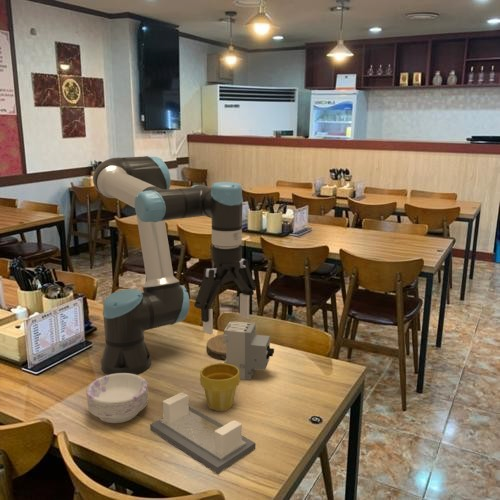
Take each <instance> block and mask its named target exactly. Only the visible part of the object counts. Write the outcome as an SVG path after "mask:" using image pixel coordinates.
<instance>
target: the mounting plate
mask: <svg viewBox="0 0 500 500" xmlns="http://www.w3.org/2000/svg"><path fill="white" fill-rule="evenodd" d="M189 411H191V412H193V413H194V414H196V415H198V416H200V417H202V418H203V419H205V420H207V421H209V422H210V423H212V424H214V425H216V426H218V427H219V428H221V427H222V426H224V425H225V424H222V423H220V422H218V421H216V420H214V419H213V418H211V417H209V416H208V415H207V414H206V415H205V414H204V413H202V412H201V411H199V410H197V409H195V408H194V407H192V406H189ZM161 419H163V417H162V418H159V419H158V420H156V421H153V422H152V423H150V424H149V430H150V431H151V432H153V433H155V434H156V435H158V436H159V437H161V438H162V439H164V440H165V441H167V442H169V443H170V444H172V445H173V446H175V447H176V448H178V449H179V450H180V451H182V452H184V453H186V454H187V455H189V456H190V457H192V458H193V459H195V460H196V461H197V462H199V463H201V464H202V465H204V466H206V467H207V468H208V469H210V470H211V471H213V472H215V473H216V474H220V473H221V472H222V471H223V470H225V469H227V468H229V467H230V466H231V465H233V464H234V463H236V462H238V461H239V460H240V459H242V458H244V457H245V456H247V455H248V454H249V453H251V452H253V451H255V450H256V442H254V441H253V440H251V439H249V438H247V437H246V436H243V435H242V441H244V442H246V445H245V446H244V447H242V448H241V449H239V450H238V451H236V452H235V453H233V454H232V455H230V456H228V457H227V458H225V459H224V460H222V461H220V460H219V459H217V458H215V457H214V456H212V455H210V454H209V453H207V452H206V451H204V450H202V449H201V448H199V447H198V446H196V445H194V444H193V443H191V442H190V441H188V440H186V439H185V438H183V437H182V436H180V435H178V434H177V433H175V432H174V431H172V430H170V429H169V428H167V427H165V426H164V425H162V424H161V423H159V420H161Z"/></svg>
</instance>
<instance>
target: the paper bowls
mask: <svg viewBox="0 0 500 500" xmlns="http://www.w3.org/2000/svg"><path fill="white" fill-rule="evenodd" d="M86 399H87V402H86V403H87V409H88V411H89V413H90V414H92V415H93V416H94V417H96V418H99V419H100V420H101V421H103V422H105V423H108V424H109V423H110V424H120V423H125V422H128V421H130V420H132V419H134V418H135V417H136V416H137V415H138V414H139V413H140V411H142V410H144V409H145V407H146V406H147V404H148V402H149V385H148V381H147V380H146V379H145V378H144V377H142V375H141V376H140V375H138V374H130V373H116V374H110V375H108V374H106V375H103V376H101V377H99V378H97V379H95V380H94V381H92V382H91V383H89V385H88V387H87V390H86Z"/></svg>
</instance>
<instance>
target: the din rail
mask: <svg viewBox="0 0 500 500" xmlns="http://www.w3.org/2000/svg"><path fill="white" fill-rule="evenodd" d="M162 418H163V417H162ZM162 418H160V419H161V420H160V419H158V420H159V423H161V424H162V425H164V426H165V427H167V428H169V429H170V430H172V431H174V432H175V433H177V434H178V435H180V436H182V437H183V438H185V439H186V440H188V441H190V442H191V443H193V444H194V445H196V446H198V447H199V448H201V449H202V450H204V451H206V452H207V453H209V454H210V455H212V456H214V457H215V458H217V459H219V460H220V461H222V460H224V459H225V458H227V457H228V456H230V455H232V454H233V453H235V452H236V451H238V450H239V449H241V448H242V447H244V446H245V445H246V442H244V441H242V444H240V445H239V446H237V447H236V448H234V449H233V450H231V451H229V452H228V453H226V454H225V455H221V454H219V453H218V452H216V451H215V431H216V430H217V429H219V427H218V426H216V425H214V424H212V423H210V422H209V421H207V420H205V419H203V418H202V417H200V416H198V415H196V414H194V413H193V412H191V411H189V414H187V415H185V416H183V417H181V418H179V419H177V420H175V421H174V422H172V423H168V422H167V421H165V420H164V418H163V419H162Z"/></svg>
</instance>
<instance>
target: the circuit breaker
mask: <svg viewBox="0 0 500 500" xmlns="http://www.w3.org/2000/svg"><path fill="white" fill-rule="evenodd" d="M223 334H224V335H223V344H226V360H225V361H223V363H227V364H231V365H234V366H236V367H237V368H238V369H239V372H240V379H239V380H243V381H251V380H252V378H253V375H254V373H255V371H256V370H262V371H265V370H267V368H268V367H267V366H268V364H269V362H270V360H271V359H270V357H273V355H274V354H275V353H274V352H275V348H271V345H270V344H271V337H270V335H261V334H257V331H256V322H245V321H244V322H243V321H229V322H228V324H227V325H226V327H225V328H224V330H223Z"/></svg>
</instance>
